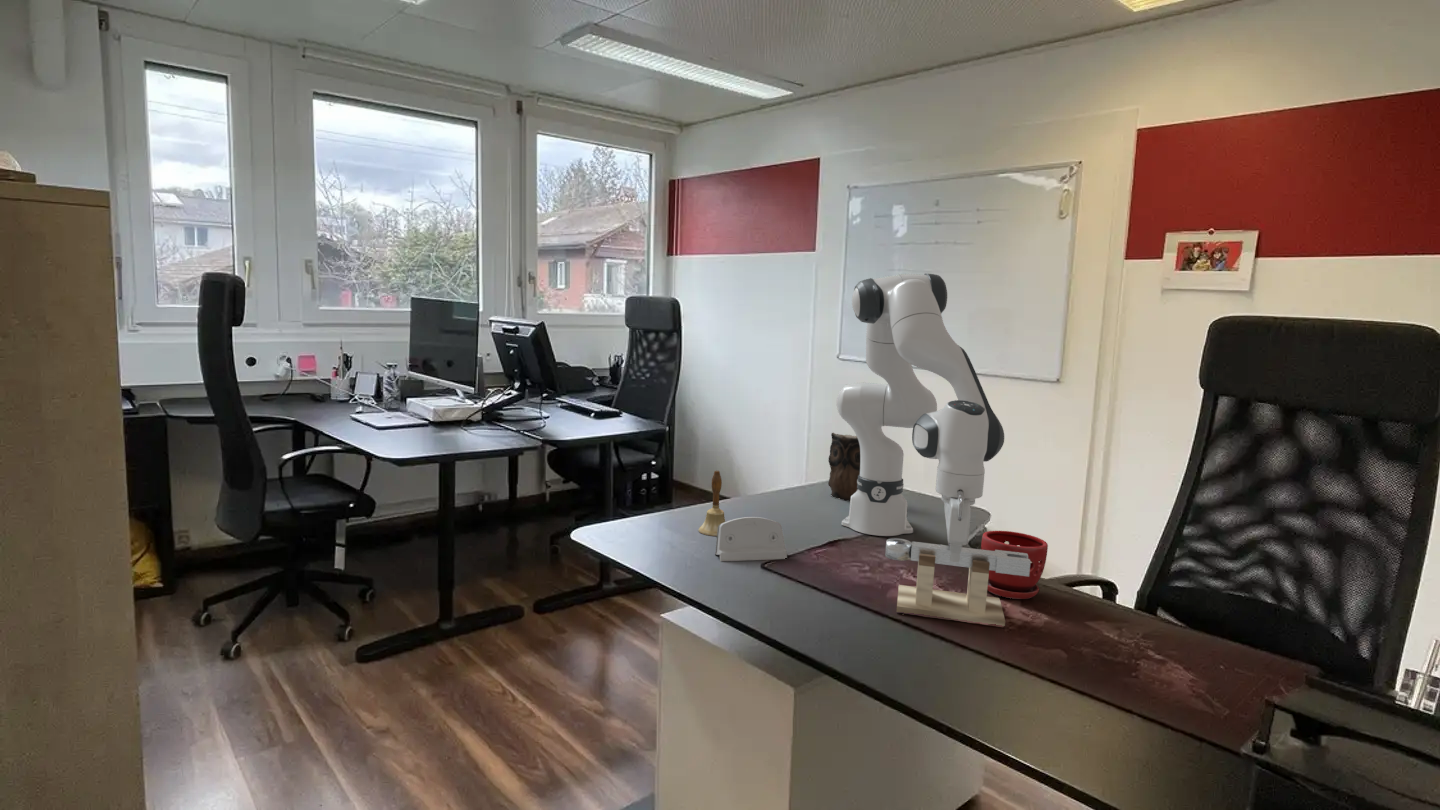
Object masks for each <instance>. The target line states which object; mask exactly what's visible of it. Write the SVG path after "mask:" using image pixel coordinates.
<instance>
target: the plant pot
mask: <svg viewBox="0 0 1440 810" xmlns="http://www.w3.org/2000/svg"><path fill="white" fill-rule="evenodd" d="M1006 542H1007V543H1006ZM980 544H981V546H980V549H981V550H990V551H995V550H1002V551H1011V552H1019V553H1027V554H1028V559H1030V561H1031V563H1030V572H1029V577H1028V576H1020V575H1012V574H1004V573H996V571H993V570H989V577H988V587H987V592H989V593H991V594H993V595H996V596H997V597H998V596H999V597H1001V596H1002V597H1001V598H1004V597H1006V598H1010V599H1011V598H1012V599H1011V600H1027V599H1030V598H1033V597H1035V596H1036V595H1038V593H1039V592H1040V591H1039V590H1040V589H1039V588H1040V587H1039V586H1038V585H1037V584H1038V582H1039V580H1040V579H1041V577H1042V576H1043V573H1044V570H1045V566H1046V562H1047V557H1048V549H1049V548H1048V547H1049V545H1048V542H1046V540H1045V539H1044V540H1043V539H1042V538H1039V537H1038V536H1034V535H1031V534H1027V533H1022V532H1017V531H1009V530H988V531H985V532H983V533H982V537H981V542H980ZM1006 598H1005V599H1006Z"/></svg>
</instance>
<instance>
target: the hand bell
mask: <svg viewBox="0 0 1440 810" xmlns="http://www.w3.org/2000/svg"><path fill="white" fill-rule="evenodd" d="M722 480H723V479H722V476H721V472H720V470H714V473H713V475H712V478H711V491H712V507H711V508H709V509H708V510H707V511H706V515H705V519H704V522H703V523H702V525H700V526H699V528H698V530H697V531H698V533H700V534H702V535H704V536H705V535H706V536H710V537H711V536H712V537H717V530H718V526H719V525H720V524H721V523H724V522H726V518H725V511H724V510H722V509H721V508H720V493H721V490H722V486H723V485H722V484H723V483H722Z"/></svg>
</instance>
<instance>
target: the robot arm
mask: <svg viewBox="0 0 1440 810" xmlns="http://www.w3.org/2000/svg"><path fill="white" fill-rule="evenodd" d="M947 302H948V289H947V283H946V282H945V280H944V279H943V278H942V277H941V276H940V275H939V274H934V273H928V272H927V273H924V274H917V273H916V274H915V273H905V274H902V273H901V274H899V273H898V274H897V275H890V276H889V275H888V276H882V277H878V278H873V277H872V278H871V277H870V278H866V279H863V280H861V281H858V282H857V284H856V285H855V286H854V288H853V293H852V297H851V305H852V310H853V311H854V316H855V317H856V319H858V320H859V321H860V322H861V323H866V333H865V334H866V335H865V338H866V339H865V340H866V342H865V363H866V366H868V369H869V370H870V371H871V372H872V373H874V374H875V375H877V376H879V377H880V378H882V379H883V380H884V381H885V382H886V383H887V384H886V383H874V382H873V383H872V382H856V383H855V382H854V383H847V384H845V385H844V386H843V387H842V388H840V391H838V394H837V397H836V409H837V413H838V414H839V416H840V417H841V418H842V419H843V420H844V421H845V422H846V423H847V424H848V425H849V426H850V427H851V429H852V430H853V432H854V434H855V436H857V438H858V441H859V445H860V474H859V475H858V479H857V488H858V490H857V491H856V492H855V493H854V494H853V495H852V496H851V499H850V501H849V502H850V503H849V511H848V515H847V516H846V517H845V518H844V519H842V520H841V526H844V527H847V528H850V529H851V530H853V531H856V532H857V533H858V532H859V533H862V534H865V535H872V536H879V537H894V536H899V535H903V534H913V533H914V528H913V527H912V525H911V524H910V522H909V521H908V519H907V518H908V512H907V511H908V501H907V499H906V498H905V497H904V496H903V494H902V493H903V491H904V478H903V468H904V467H903V466H904V457H905V454H904V450H903V448H902V446H901V445H900V444H899V443H898V442H896V441H895V440H893V439H892V438H890V437H888V436H887V435H886V434H885V433H884V432H883V429H882V427H892V428H893V427H895V428H904V429H912V433H911V435H912V437H911V438H912V445H913V446H912V447H913V448H914V449H915V450H916V452H917V453H918V454H919V455H920V456H921V457H922V458H927V459H930V460H938V464H937V465H938V466H937V469H936V481H935V492H936V493H937V494H939V495H941V499H940V500H941V501H942V502H943V504H944V506H943V507H944V518H945V526H946V527H945V528H946V535H947V544H948V545H947V546H950V561H952V562H959V561H960V553H961V549H962V547H963V546H966V545H967V544H968V542H969V538H970V537H969V536H970V524H971V523H970V522H971V506H973V505H975V504H976V499H980V498H982V497H983V493H984V482H985V469H986V468H985V466H984V465H985V464H984V462H985V463H986V462H989V461H990V460H992V459H993V458H995V457H996V456H997V455H998V454H999V452H1001V449H1002V448H1003V446H1004V443H1005V432H1004V431H1005V430H1004V428H1003V425H1002V423H1001V421H1000V420H999V418H998V417H997V414H995V412H994V410H993V409H992V407H991V405H990V402H989V401H988V398H987V396H986V394H985V391H984V389H983V387H982V384H981V381H980V379H979V377H978V375H977V373H976V370H975V368H974V365H973V364H972V361H971V359H970V357H969V355H968V354H967V352H966V350H965V349H964V348H962V347H961V346H960V345H959V344H958V343H956V341H955V340H954V339H953V338H952V337H951V335H950V333H949V332H948V330H947V328H946V326H945V324H944V320H943V316H942V313H943V312H944V311H945V309H946V308H947V304H948V303H947ZM913 366H914V367H916V368H919V369H923V370H926V371H928V372H931V373H933V374H935V375H938V376H940V377H941V378H943V379H944V380H946V381H947V382H948V383H949V384H950V385H951V386H952V389H953V391H954V393H955V396H956V398H957V399H955V400H951V401H949V402H947V403H945V405H944V407H943V408H942V409H939V410H938V404H937V399H936V397H935V395H934V394H933V392H932V391H931V390H929V389H928V387H926V386H924V385H923V384H922V382H921V381H920V380H919V379H918V377H917V375H916V374H915V372H914V369H913Z"/></svg>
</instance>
